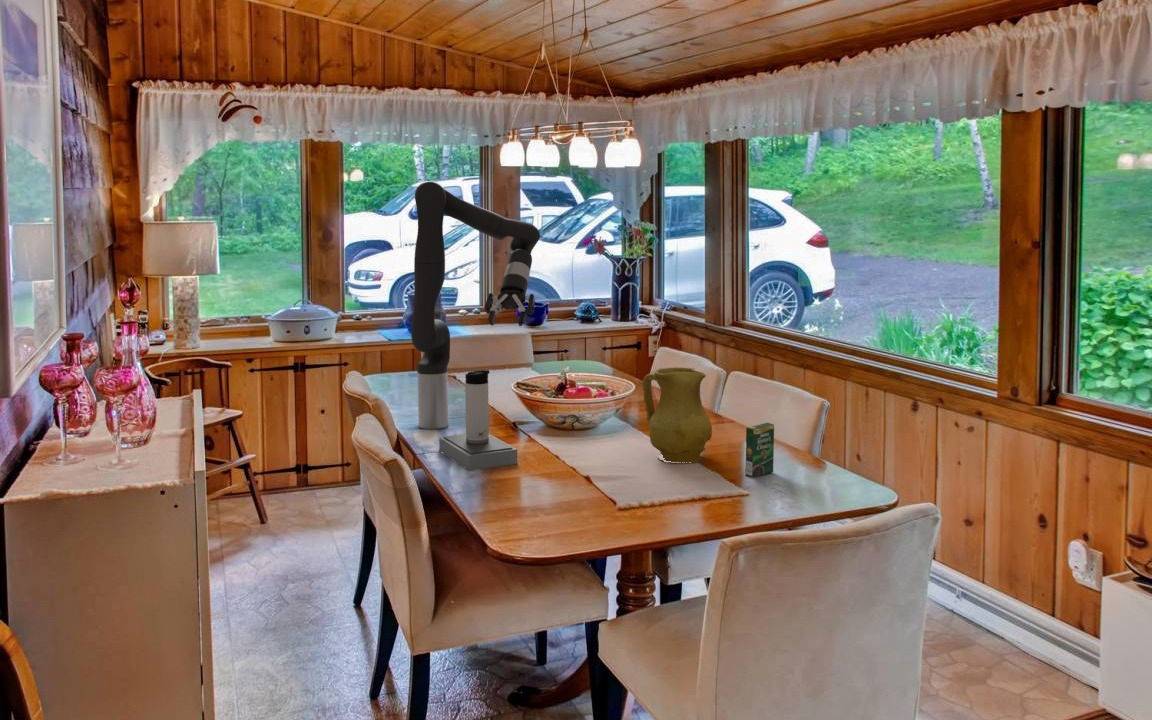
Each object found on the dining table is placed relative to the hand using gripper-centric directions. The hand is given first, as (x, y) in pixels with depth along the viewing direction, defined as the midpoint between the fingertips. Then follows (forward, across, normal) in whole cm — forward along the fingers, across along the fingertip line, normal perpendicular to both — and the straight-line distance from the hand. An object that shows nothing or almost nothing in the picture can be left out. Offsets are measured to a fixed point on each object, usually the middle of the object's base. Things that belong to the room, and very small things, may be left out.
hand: (505, 324), depth 285 cm
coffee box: (+39, +73, +11) cm, 84 cm away
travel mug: (+35, -3, +8) cm, 36 cm away
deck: (+38, -3, +11) cm, 40 cm away
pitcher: (+30, +51, +20) cm, 62 cm away
